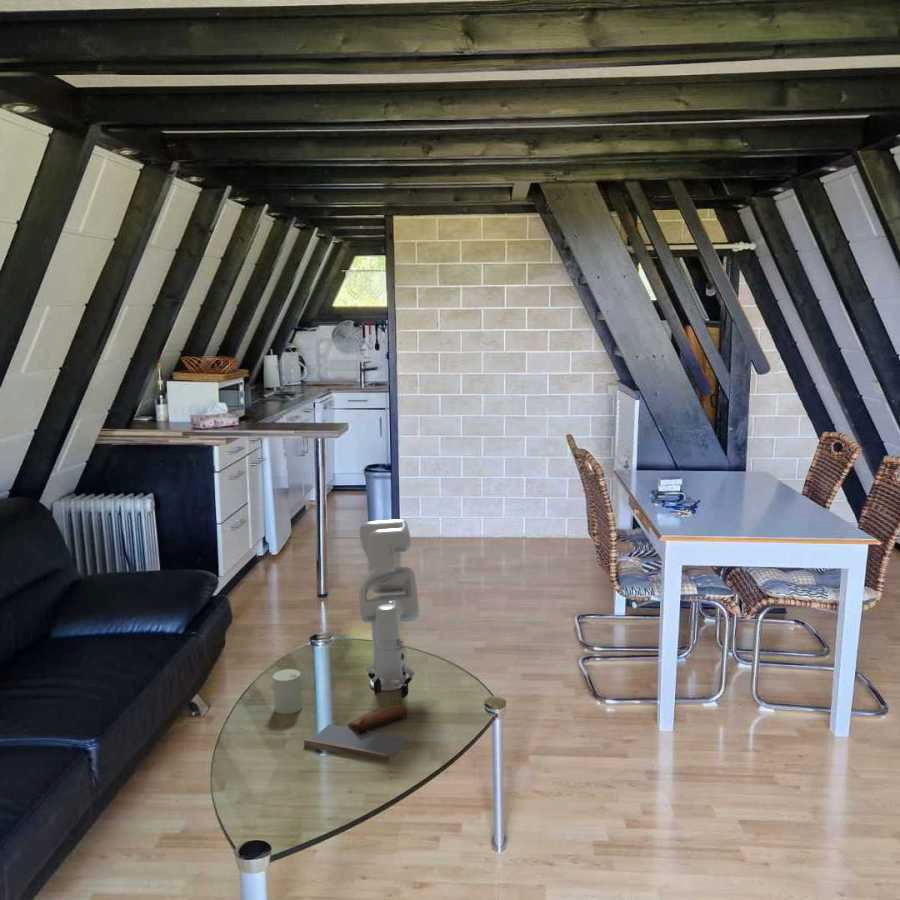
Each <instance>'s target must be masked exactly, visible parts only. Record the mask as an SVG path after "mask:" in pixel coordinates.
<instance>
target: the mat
mask: <svg viewBox="0 0 900 900" xmlns="http://www.w3.org/2000/svg"><path fill="white" fill-rule="evenodd" d="M312 739H313V740H318V741H324V742H329V743H334V744H340V745H345V746H350V747H356V748H361V749H366V750H372V751H377V752H382V753H388V754H389V756H390V760H392V758H393V757H394V756H395V755H397V753H398V752H399V751H400V750H401V748H403V746H404V745H405V744H407V742H408V741H409V740H410V738H408V737H405V736H404V737H403V736H398V735H393V734H385V733H380V732H376V731H370V730H367V731H365V732H363V733H360V734H359V735H357V734H356V733H355V732H354V731H352V730H351V729H350V728H349V727H348V726H341V725H337V724H336V725H334V724H331V723H330V724H328V725H326V726H325V727H324V728H323V729H322V730H320V732H318V733H317V734H316V735H315V736H313V737H312Z"/></svg>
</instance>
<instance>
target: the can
mask: <svg viewBox="0 0 900 900" xmlns="http://www.w3.org/2000/svg"><path fill="white" fill-rule="evenodd" d="M301 675H302V673H301V671H300V670H298V669H293V668H288V669H287V668H286V669H282V670H278V671H276V672H274V673H273V675H272V683H273V696H274V698H273V699H274V712H275V713H277V714H280V715H291V714H296V713H298V712H299V711H301V710H302V709H303V707H304V704H303V696H302V693H303V692H302V680H301V679H302V677H301Z"/></svg>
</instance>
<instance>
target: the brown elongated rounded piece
mask: <svg viewBox="0 0 900 900" xmlns="http://www.w3.org/2000/svg"><path fill="white" fill-rule="evenodd" d="M402 717H408V709H407V708H406V706H405V705H390V706H386V707H382V708H378V709H375V710H374V709H373V711H369V712H367V713H366V714H364V715H363V716H360V717H358V718H356V719H354V720H352V721H350V722H349V723H348V724H347V727H348V728H350V729H351V730H352V731H354V732H355V733H356V734H357V735H359V734H360V733H363V732H365V731H370V730H372V729H373V728H376V727H377V726H380V725H384V724H386V723H389V722H391V721H394V720H397V719H400V718H402Z"/></svg>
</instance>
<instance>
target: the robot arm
mask: <svg viewBox="0 0 900 900" xmlns="http://www.w3.org/2000/svg"><path fill="white" fill-rule="evenodd" d="M359 539H360V544H361V547H362V549H363V551H364V554H365V556H366V558H367V561H368V571H369V573H368V574H367V575H366V576H365V578H364V579H363V581H362V582H361V584H360V587H359V590H358V605H359V606H358V608H359V616H360V619H361V621H363V622H364V623H368V624H369V623H370V629H371V640H372V643H371V644H372V659H373V660H372V662H373V663H372V664H370V665H367V666H366V667H365V670H366V673H367V675H368V678H370V680H369V685H371V686H370V688H372V689H373V690H374V691H373V692H374V695H379V694H380V693H381V692H382V691H383V692H389V691H390V692H391V691H395V690H401V691H400V694H401V695H400V696H401V698H402V699H405V698H406V697H407V696H408V695H409V684H410V682H411V681H412V680H413V678H414V676H415V675H416V672H415V671H414V670H413V669H412V668H409V667H408V665H407V659H406V658H407V657H406V653H405V650H404V645H405V642H404V641H403V640H401V639H402V638H401V632H400V630H401V629H400V623H410V622H415V621H416V620H418V618H419V615H420V604H419V595H418V587H417V580H416V575H415V571H414V570H413V569H412V568H411V567H408V566H398V567H396V563H395V553H406V552H408V551H409V550H410V548H411V534H410V530H409V525H408V523H407V521H406V520H405V519H402V518H395V519H380V520H379V519H378V520H371V521H367V522H366V521H365V522H364V523H362V524H361V525H360V527H359ZM370 590H371V591H372V594H373V595H376V596H374V597H373V598H371V599H368V593H369V591H370ZM372 669H373V670H372ZM406 675H408V677H407V676H406Z"/></svg>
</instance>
